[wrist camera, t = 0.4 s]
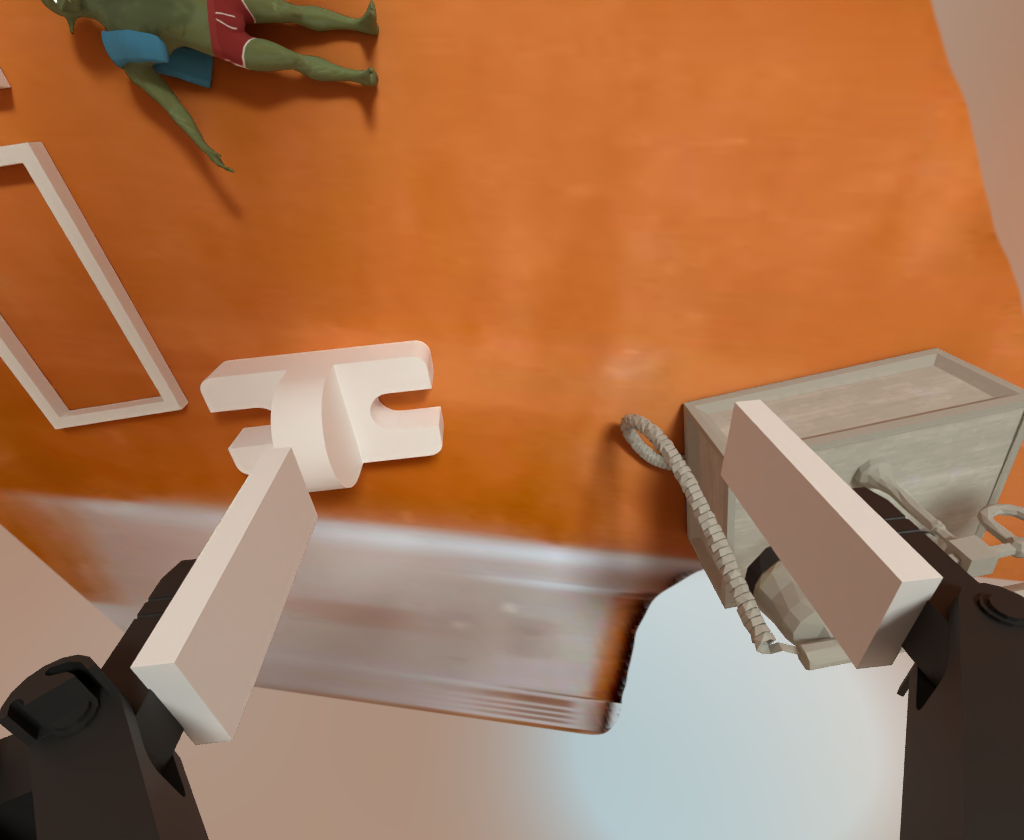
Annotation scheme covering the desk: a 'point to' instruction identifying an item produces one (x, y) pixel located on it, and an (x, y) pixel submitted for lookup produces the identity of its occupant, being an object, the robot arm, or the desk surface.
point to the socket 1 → (3, 81)
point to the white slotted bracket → (330, 408)
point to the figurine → (208, 43)
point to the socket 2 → (107, 282)
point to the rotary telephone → (853, 476)
